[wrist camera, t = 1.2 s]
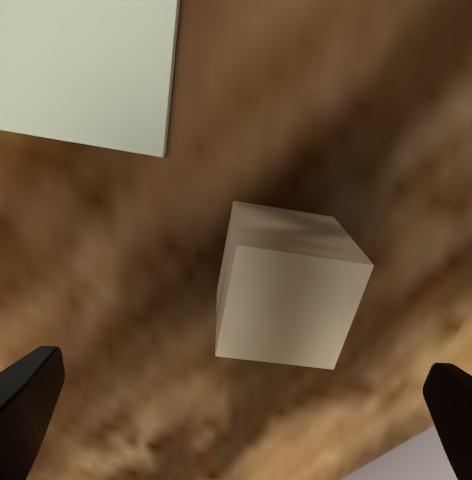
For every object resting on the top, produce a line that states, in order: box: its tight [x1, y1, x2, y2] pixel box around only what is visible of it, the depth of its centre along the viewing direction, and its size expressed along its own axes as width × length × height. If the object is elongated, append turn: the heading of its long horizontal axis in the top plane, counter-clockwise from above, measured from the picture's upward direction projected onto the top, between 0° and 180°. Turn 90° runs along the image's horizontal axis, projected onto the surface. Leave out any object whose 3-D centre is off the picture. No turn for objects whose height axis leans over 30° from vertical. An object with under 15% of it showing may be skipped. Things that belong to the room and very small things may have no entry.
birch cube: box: [215, 201, 374, 370], centre depth 18 cm, size 6×6×6 cm
